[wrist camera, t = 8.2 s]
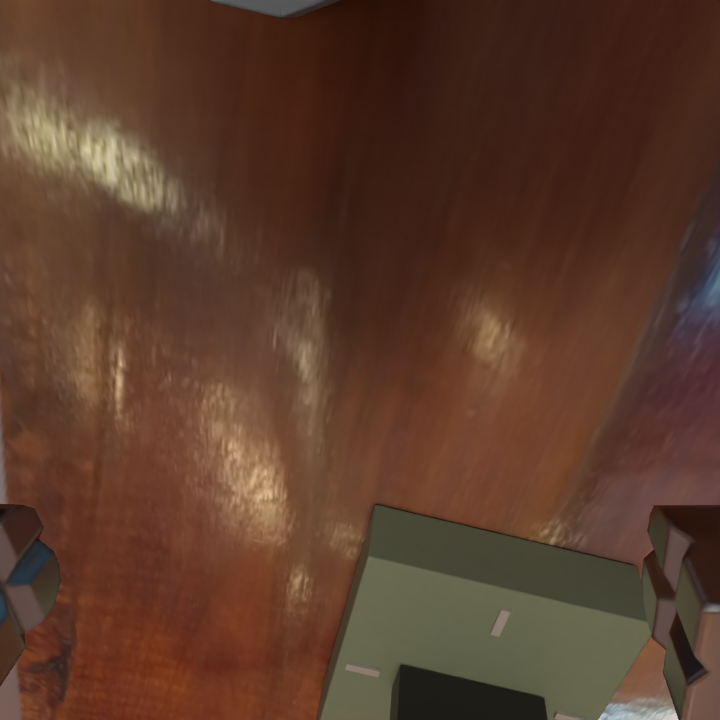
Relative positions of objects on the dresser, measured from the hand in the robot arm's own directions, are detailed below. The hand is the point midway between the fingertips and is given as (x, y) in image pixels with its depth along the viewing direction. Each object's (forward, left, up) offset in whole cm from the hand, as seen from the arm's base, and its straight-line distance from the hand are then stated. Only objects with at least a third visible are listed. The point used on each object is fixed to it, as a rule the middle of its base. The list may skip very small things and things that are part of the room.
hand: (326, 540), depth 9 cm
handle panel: (+17, +7, -15) cm, 24 cm away
